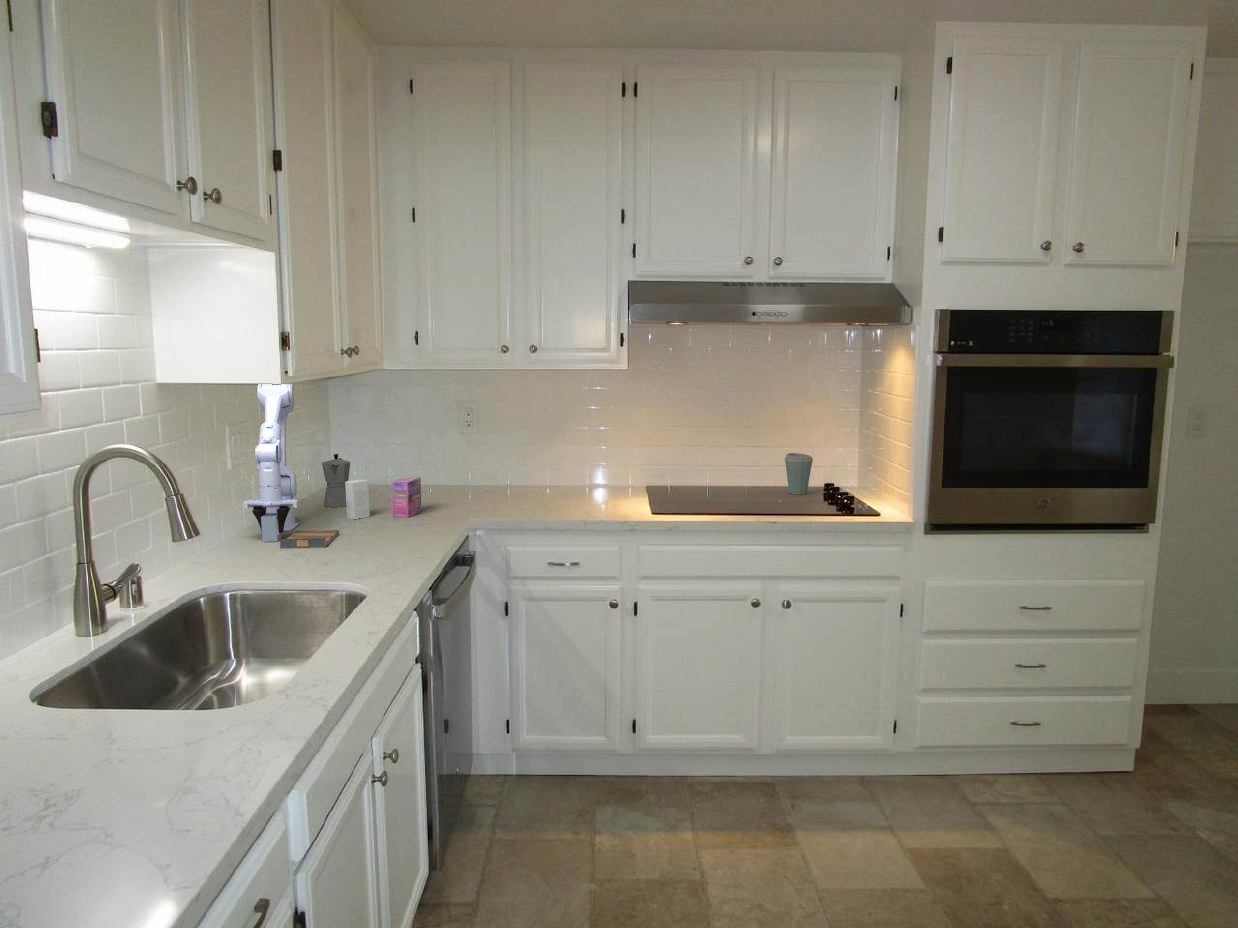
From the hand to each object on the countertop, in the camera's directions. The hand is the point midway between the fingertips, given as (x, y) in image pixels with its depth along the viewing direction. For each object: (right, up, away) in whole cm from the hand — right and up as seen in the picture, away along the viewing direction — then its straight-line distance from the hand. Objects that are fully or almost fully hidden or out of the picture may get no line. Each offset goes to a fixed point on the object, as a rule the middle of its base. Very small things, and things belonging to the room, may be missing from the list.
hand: (272, 532), depth 244 cm
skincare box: (+15, +2, +32) cm, 35 cm away
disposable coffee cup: (+166, +8, +81) cm, 185 cm away
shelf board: (+11, -2, -1) cm, 11 cm away
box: (+29, +3, +37) cm, 47 cm away
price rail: (+12, -3, -9) cm, 15 cm away
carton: (0, -2, 0) cm, 2 cm away
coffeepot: (+1, +5, +53) cm, 54 cm away
